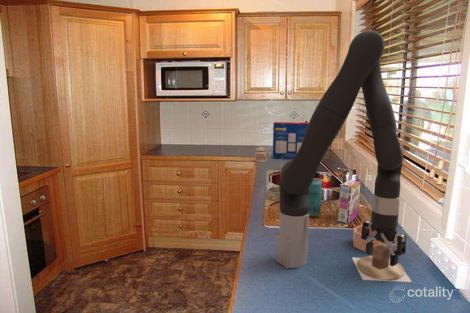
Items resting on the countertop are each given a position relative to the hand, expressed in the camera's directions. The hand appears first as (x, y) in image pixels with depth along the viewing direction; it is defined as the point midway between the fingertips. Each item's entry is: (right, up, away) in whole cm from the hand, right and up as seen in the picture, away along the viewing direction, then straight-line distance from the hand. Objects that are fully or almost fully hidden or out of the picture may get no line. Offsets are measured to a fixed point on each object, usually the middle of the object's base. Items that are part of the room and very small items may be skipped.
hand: (380, 259), depth 112 cm
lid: (0, -3, +1) cm, 3 cm away
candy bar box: (+4, +5, +44) cm, 44 cm away
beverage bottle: (-11, +5, +47) cm, 48 cm away
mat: (0, -4, +1) cm, 4 cm away
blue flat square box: (-1, +30, +173) cm, 175 cm away
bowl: (+3, 0, +17) cm, 17 cm away
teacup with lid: (-24, +28, +161) cm, 165 cm away
